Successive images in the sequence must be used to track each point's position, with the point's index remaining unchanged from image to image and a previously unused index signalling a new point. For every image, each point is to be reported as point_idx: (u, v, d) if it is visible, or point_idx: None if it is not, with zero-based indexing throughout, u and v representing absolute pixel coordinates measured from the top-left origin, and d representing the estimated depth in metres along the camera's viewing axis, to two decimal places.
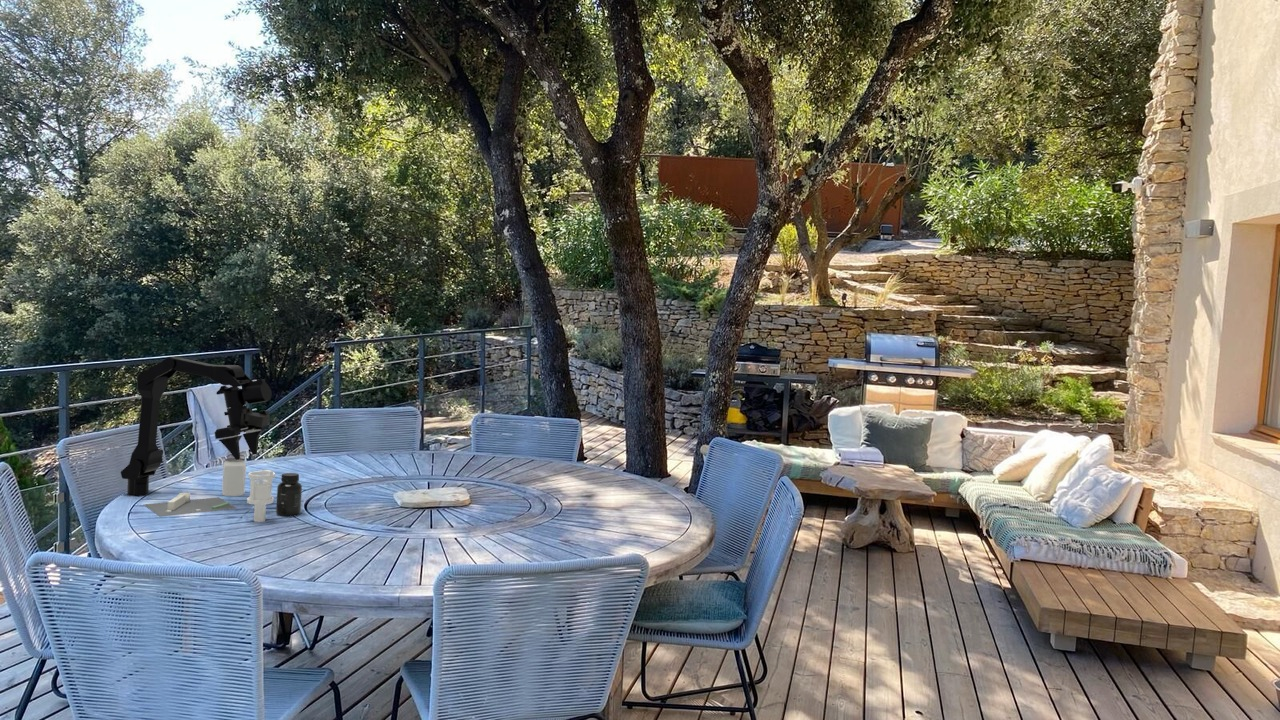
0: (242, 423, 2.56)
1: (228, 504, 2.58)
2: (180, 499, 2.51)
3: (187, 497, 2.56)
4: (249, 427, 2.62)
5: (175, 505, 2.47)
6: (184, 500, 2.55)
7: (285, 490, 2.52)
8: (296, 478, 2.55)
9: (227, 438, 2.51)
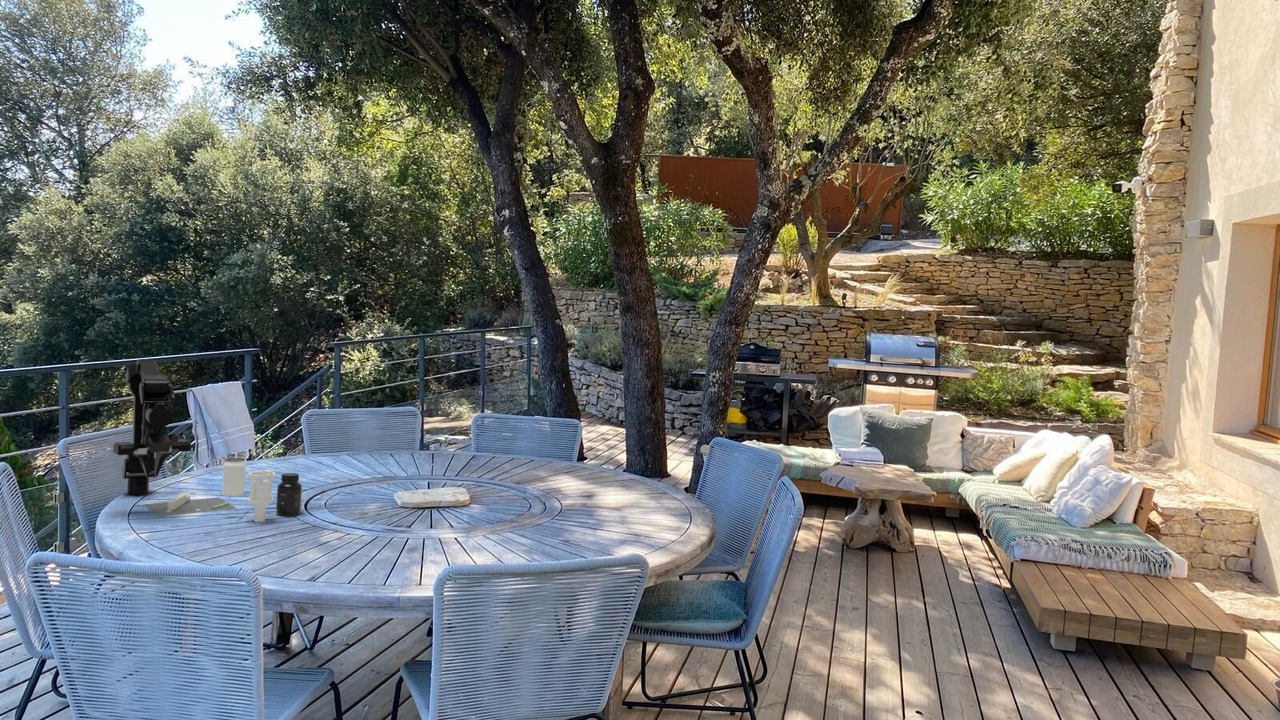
0: (144, 442, 2.39)
1: (228, 504, 2.58)
2: (180, 499, 2.51)
3: (187, 497, 2.56)
4: None
5: (175, 505, 2.47)
6: (184, 500, 2.55)
7: (285, 490, 2.52)
8: (296, 478, 2.55)
9: (135, 453, 2.40)
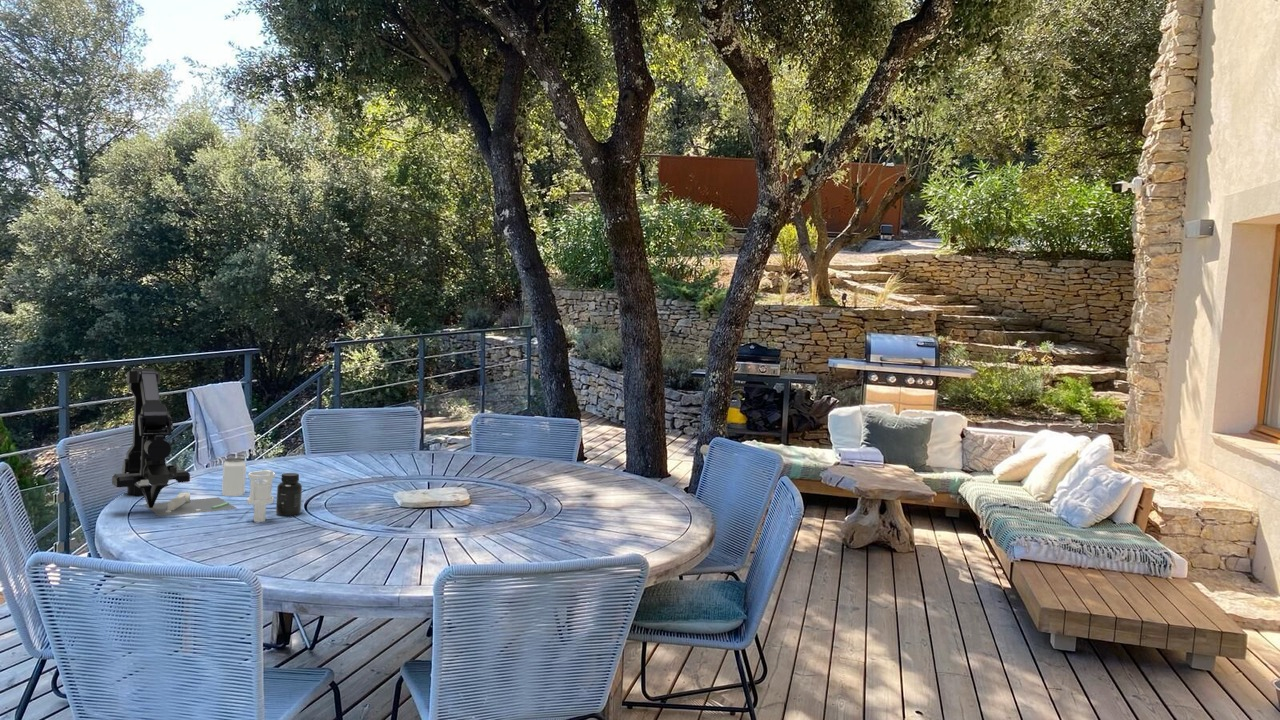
0: (143, 474, 2.40)
1: (228, 504, 2.58)
2: (180, 499, 2.51)
3: (187, 497, 2.56)
4: None
5: (175, 505, 2.47)
6: (184, 500, 2.55)
7: (285, 490, 2.52)
8: (296, 478, 2.55)
9: (137, 485, 2.41)
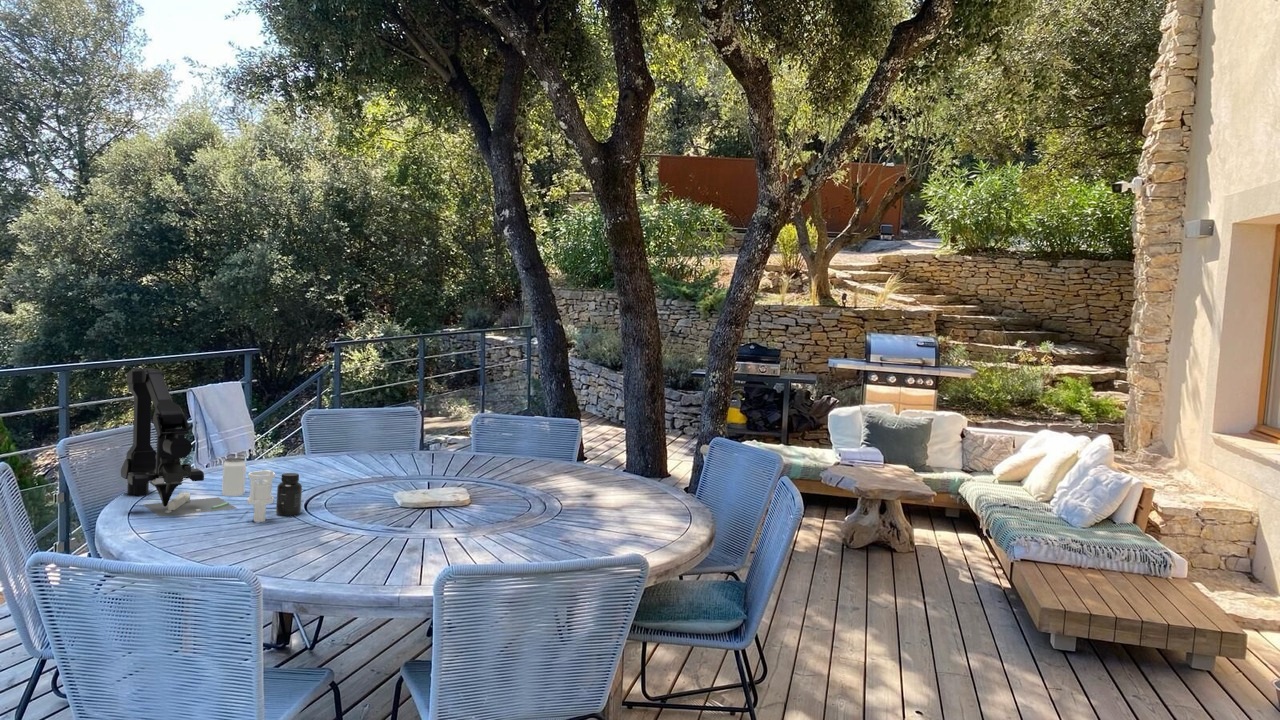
0: (158, 472, 2.42)
1: (228, 504, 2.58)
2: (180, 499, 2.51)
3: (187, 497, 2.56)
4: None
5: (175, 505, 2.47)
6: (184, 500, 2.55)
7: (285, 490, 2.52)
8: (296, 478, 2.55)
9: (152, 483, 2.44)
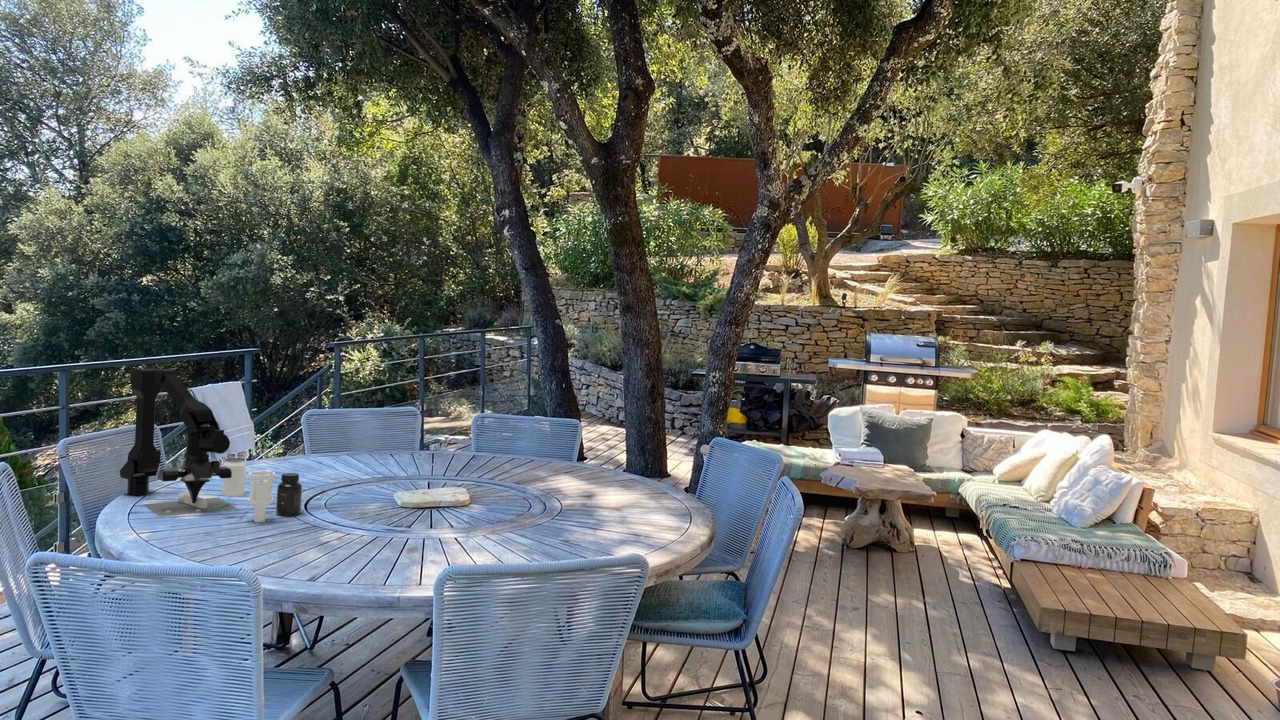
0: (187, 469, 2.47)
1: (228, 504, 2.58)
2: None
3: None
4: None
5: None
6: None
7: (285, 490, 2.52)
8: (296, 478, 2.55)
9: (183, 480, 2.49)
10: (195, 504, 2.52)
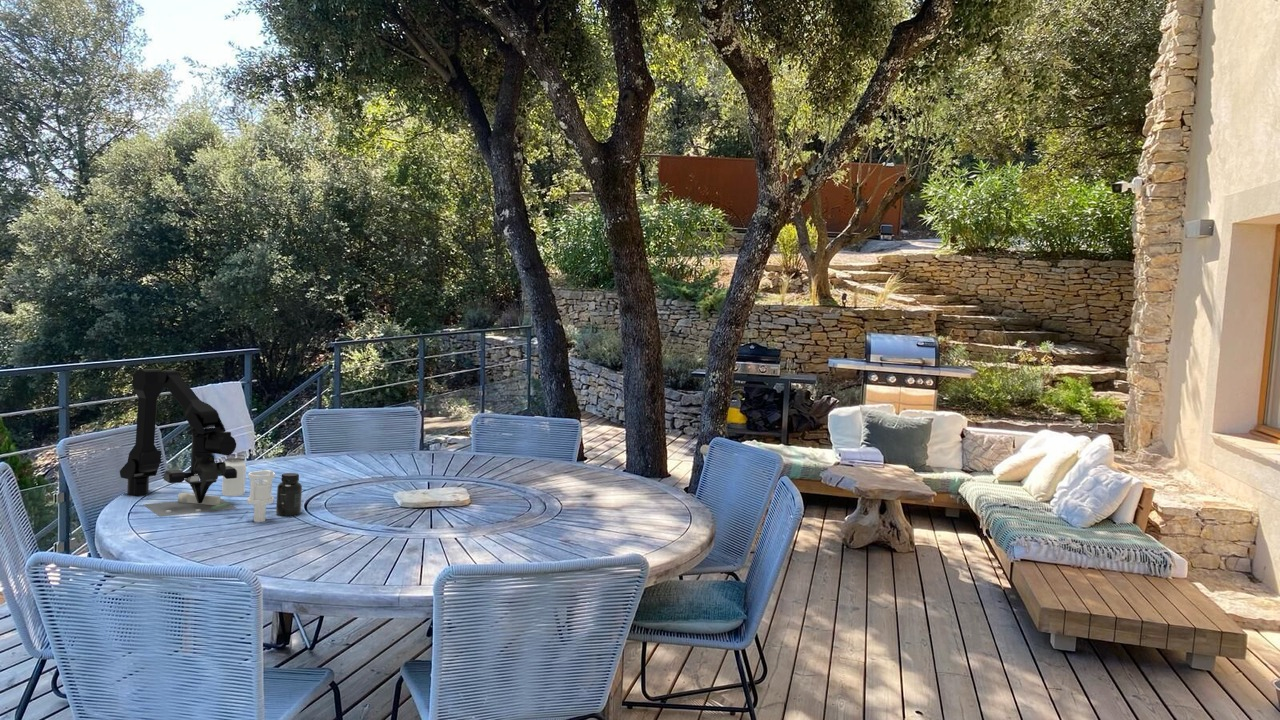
0: (193, 470, 2.49)
1: (228, 504, 2.58)
2: None
3: None
4: None
5: None
6: None
7: (285, 490, 2.52)
8: (296, 478, 2.55)
9: (187, 481, 2.50)
10: (206, 502, 2.55)
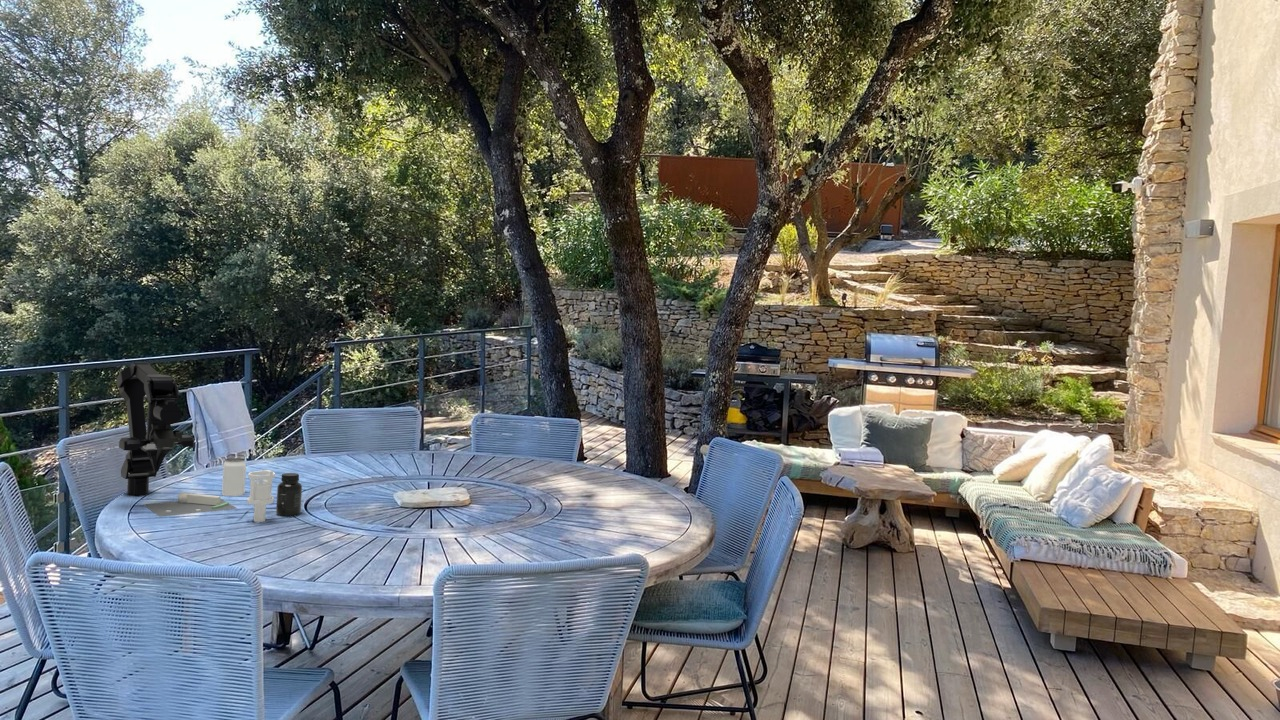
0: (149, 438, 2.47)
1: (228, 504, 2.58)
2: None
3: None
4: None
5: None
6: None
7: (286, 490, 2.52)
8: (296, 478, 2.55)
9: (143, 449, 2.48)
10: (206, 502, 2.55)
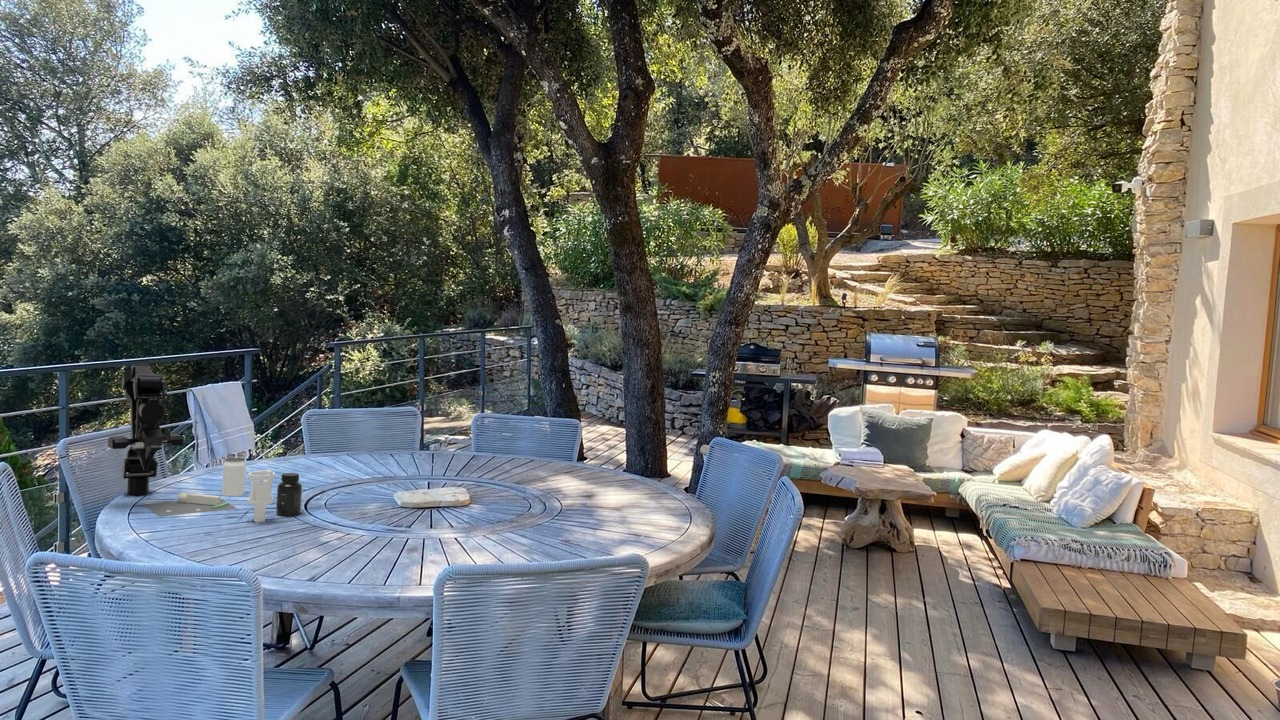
0: (138, 437, 2.47)
1: (228, 504, 2.58)
2: None
3: None
4: None
5: None
6: None
7: (286, 490, 2.52)
8: (296, 478, 2.55)
9: (132, 447, 2.48)
10: (206, 502, 2.55)
